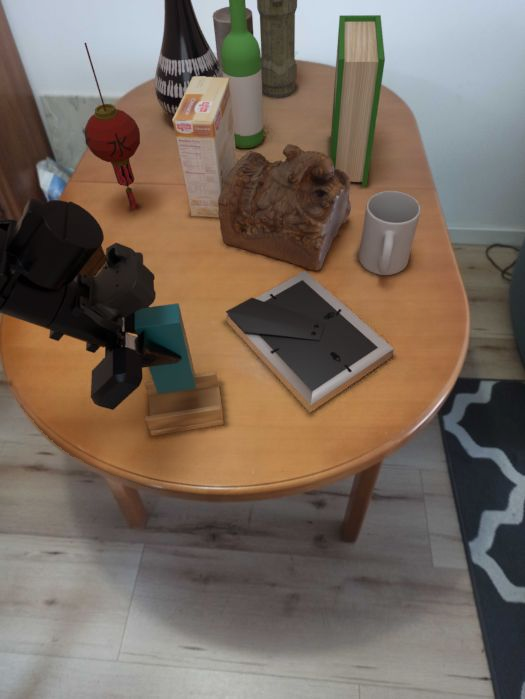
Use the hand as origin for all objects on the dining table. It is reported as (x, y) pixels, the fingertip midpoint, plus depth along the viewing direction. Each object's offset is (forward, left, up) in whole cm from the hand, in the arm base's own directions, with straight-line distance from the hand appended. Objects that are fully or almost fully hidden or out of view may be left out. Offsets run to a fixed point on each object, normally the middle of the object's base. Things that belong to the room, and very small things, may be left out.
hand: (178, 349), depth 62 cm
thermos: (+49, +78, -13) cm, 92 cm away
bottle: (+33, +60, -13) cm, 69 cm away
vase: (+26, +75, -13) cm, 80 cm away
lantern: (+4, +48, -13) cm, 50 cm away
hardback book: (+49, +43, -13) cm, 66 cm away
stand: (-1, 0, -13) cm, 13 cm away
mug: (+39, +13, -13) cm, 43 cm away
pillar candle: (+43, +91, -13) cm, 101 cm away
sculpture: (+28, +28, -13) cm, 41 cm away
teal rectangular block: (-1, 0, -7) cm, 7 cm away
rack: (-10, +34, -13) cm, 38 cm away
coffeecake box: (+20, +45, -13) cm, 50 cm away
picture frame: (+20, +4, -13) cm, 24 cm away
